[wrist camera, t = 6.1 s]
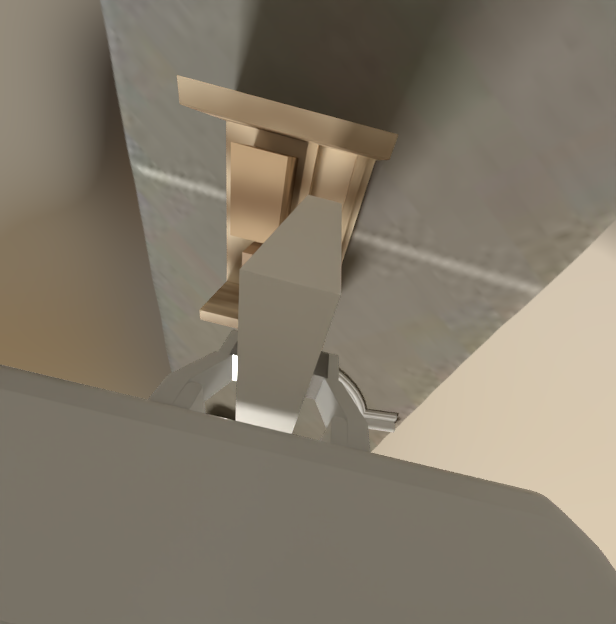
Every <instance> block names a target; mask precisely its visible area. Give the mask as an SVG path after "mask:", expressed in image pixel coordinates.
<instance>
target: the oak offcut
mask: <svg viewBox="0 0 616 624" xmlns="http://www.w3.org/2000/svg"><path fill="white" fill-rule="evenodd" d="M298 160H299V158H297V157H294V156H290V155H286V154H282V153H278V152H275V151H271V150H267V149H263V148H259V147H256V146H251V145H246V144H240V143H235V142H231V194H230V235H232V236H236V237H240V238H244V239H248V240H252V241H255V242H259V243H264V242H265V241H266V240H267V239H268V238H269V237H270V236H271V235H272V233H273V232H274V231H275V230H276V229H277V228H278V227H279V226H280V225H281V224H282V223H283V221H284V220H285V219H286V218H287V217H288V216H289V215H290V211H291V205H292V199H293V192H294V186H295V179H296V173H297V166H298Z"/></svg>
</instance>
